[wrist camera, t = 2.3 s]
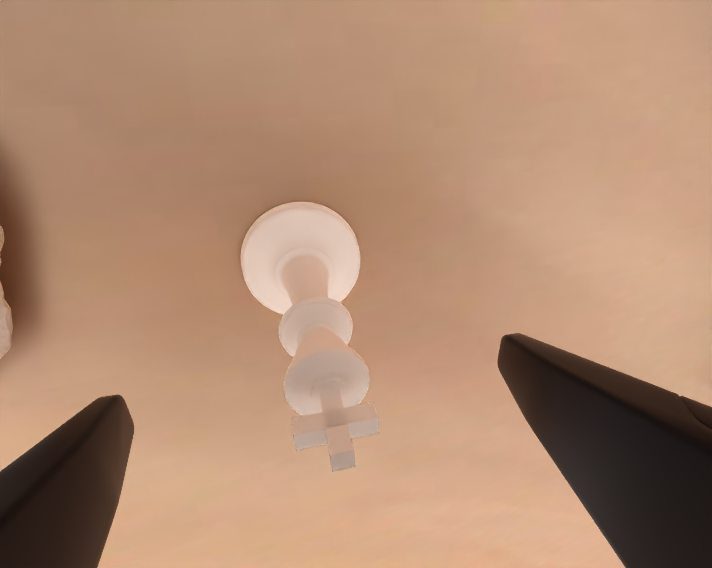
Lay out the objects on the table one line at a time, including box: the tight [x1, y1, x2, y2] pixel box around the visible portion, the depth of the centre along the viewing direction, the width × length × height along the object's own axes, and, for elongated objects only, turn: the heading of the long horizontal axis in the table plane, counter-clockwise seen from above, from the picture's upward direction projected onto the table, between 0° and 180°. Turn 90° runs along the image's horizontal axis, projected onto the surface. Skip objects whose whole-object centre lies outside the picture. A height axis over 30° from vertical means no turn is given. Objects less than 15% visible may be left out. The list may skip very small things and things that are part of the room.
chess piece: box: [241, 202, 379, 472], centre depth 11 cm, size 5×5×10 cm
